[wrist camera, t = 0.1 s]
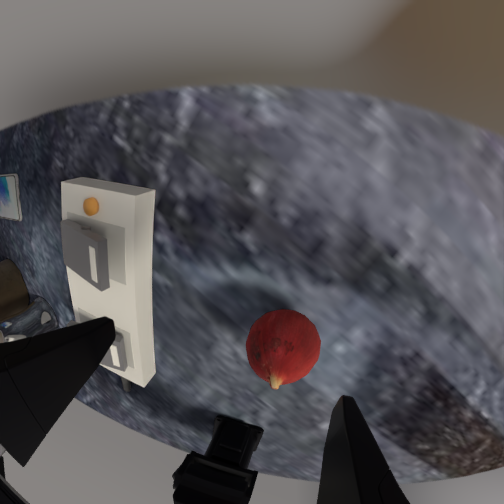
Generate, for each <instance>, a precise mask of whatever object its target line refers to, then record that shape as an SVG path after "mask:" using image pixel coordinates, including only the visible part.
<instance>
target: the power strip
mask: <svg viewBox="0 0 504 504" xmlns="http://www.w3.org/2000/svg"><path fill="white" fill-rule="evenodd" d="M61 200H62V221H63V220H66V219H70V220H72V221H74V222H76V223H77V224H79V225H81V226H90V227H91V231H93V232H95V233H96V234H98V235H100V236H102V237H104V238H106V239H107V248H108V268H109V282H110V288H108V289H106V290H104V291H102V292H101V291H100V290H98V289H97V288H96V287H94V286H93V285H91V284H90V283H89V282H87V281H86V280H85V279H83V278H82V277H81V276H79V275H78V274H77V273H75V272H74V271H73V270H71V269H70V268H69V267H68V266H67V274H68V281H69V287H70V293H71V299H72V304H73V309H74V314H75V319H76V322H78V323H82V322H86V321H89V320H93V319H96V318H100V317H103V316H106V317H108V318H111V319H112V320H113V321H114V324H115V332H116V335H119V336H123V337H124V344H125V351H126V358H127V364H128V367H127V369H126V370H125V372H124V371H121V370H117V369H114V368H111V367H108V366H105V365H102V364H100V365H102V366H103V367H105V368H107V369H109V370H111V371H112V372H114V373H116V374H118V375H120V376H121V380H122V384H123V388H124V390H125V391H126V392H129V391H130V390H131V384H130V381H132V382H134V383H136V384H138V385H140V386H142V387H145V386H146V385H147V383H148V382H149V381H150V380H151V378H152V377H153V376H154V374H155V373H156V370H155V357H154V340H153V317H152V244H153V220H154V204H155V190H154V189H149V188H144V187H138V186H133V185H127V184H121V183H116V182H110V181H104V180H98V179H92V178H86V177H79V178H75V179H70V180H66V181H62V182H61Z"/></svg>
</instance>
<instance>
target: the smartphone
mask: <svg viewBox="0 0 504 504" xmlns="http://www.w3.org/2000/svg"><path fill="white" fill-rule="evenodd" d="M19 195H20V193H19V180H18V175H17V174H5V175H0V218H5V219H10V220H15V221H21V220H22V213H21V204H20V198H19Z"/></svg>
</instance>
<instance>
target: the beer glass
mask: <svg viewBox="0 0 504 504" xmlns="http://www.w3.org/2000/svg"><path fill="white" fill-rule="evenodd" d="M57 328H58V321H57V318H56V315H55V313H54V311H53V309H52V308H51V306H50V305H49V304H48V302H47V301H46V300H45V299H43V298H41V297H37V298H36V299H35V300H34V301H33V302H32V303H31V304H30V305H29V306H28V307H26V308H25V309H24V310H22V311H20V312H18V313H16V314H13V315H11V316H8V317H6V318H3V319H1V320H0V343H4V342H10V341H15V340H19V339H23V338H27V337H31V336H32V337H33V336H35V335H38V334H42V333H46V332H49V331H53V330H56V329H57Z"/></svg>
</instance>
